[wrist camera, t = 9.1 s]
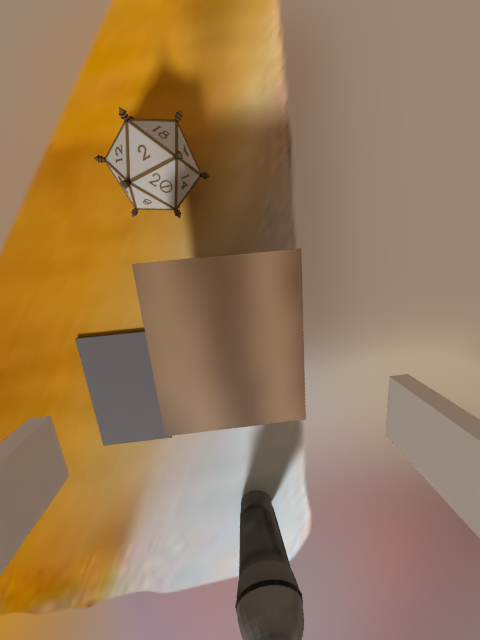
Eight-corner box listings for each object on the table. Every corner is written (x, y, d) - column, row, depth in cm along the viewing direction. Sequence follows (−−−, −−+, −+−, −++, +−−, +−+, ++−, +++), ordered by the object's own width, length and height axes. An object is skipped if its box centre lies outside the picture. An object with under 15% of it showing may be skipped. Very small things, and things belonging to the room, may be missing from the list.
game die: (187, 183, 30) (242, 165, 23) (147, 239, 29) (192, 238, 21) (121, 104, 24) (168, 47, 17) (66, 169, 23) (91, 137, 15)
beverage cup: (231, 484, 37) (240, 734, 18) (280, 481, 38) (341, 722, 18) (231, 522, 39) (240, 787, 20) (278, 519, 39) (332, 775, 20)
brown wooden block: (178, 394, 25) (165, 436, 19) (156, 261, 22) (131, 264, 16) (286, 382, 26) (305, 419, 20) (280, 250, 22) (301, 248, 17)
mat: (105, 443, 34) (103, 445, 34) (77, 337, 30) (75, 339, 30) (172, 435, 34) (171, 437, 34) (152, 330, 31) (152, 331, 30)
